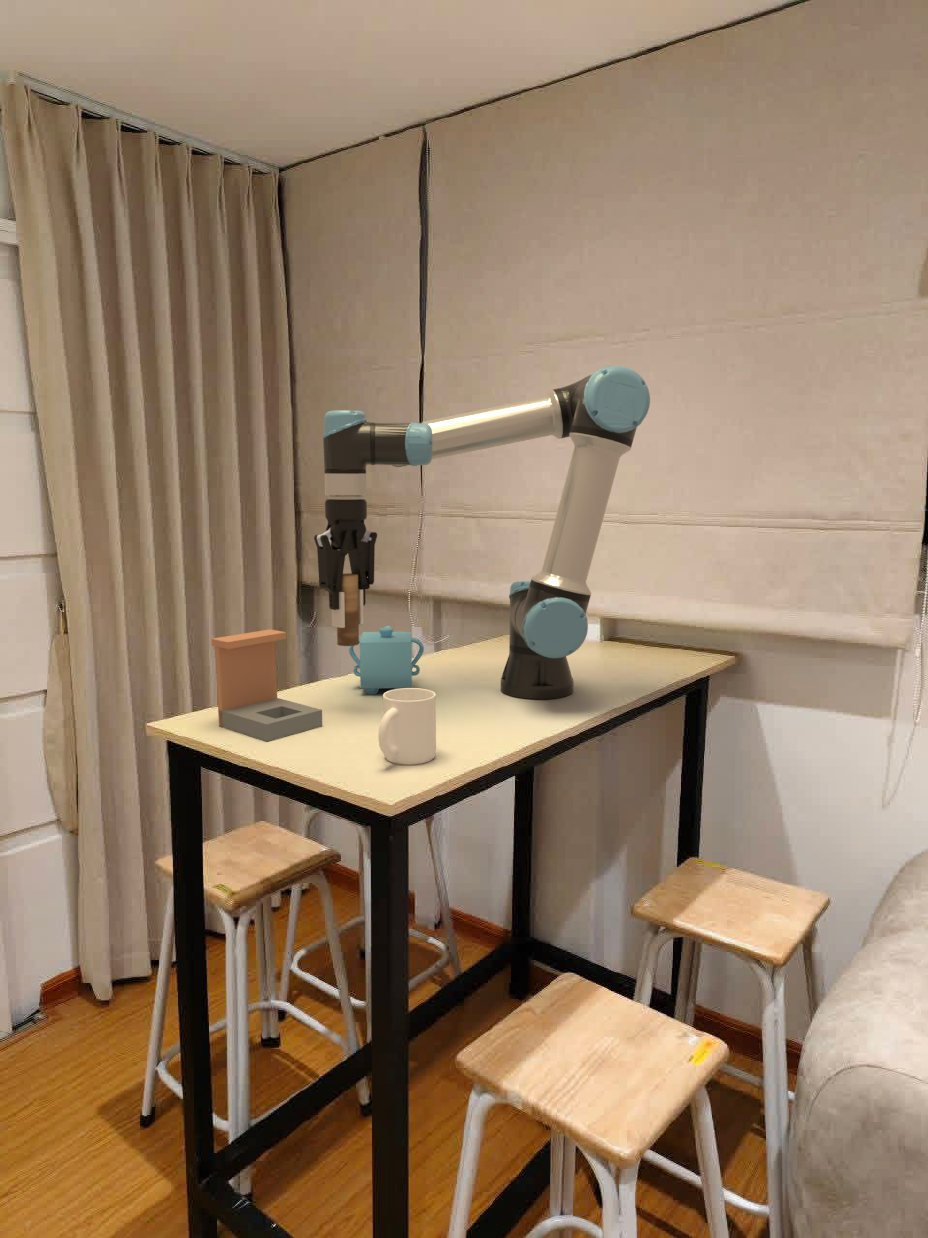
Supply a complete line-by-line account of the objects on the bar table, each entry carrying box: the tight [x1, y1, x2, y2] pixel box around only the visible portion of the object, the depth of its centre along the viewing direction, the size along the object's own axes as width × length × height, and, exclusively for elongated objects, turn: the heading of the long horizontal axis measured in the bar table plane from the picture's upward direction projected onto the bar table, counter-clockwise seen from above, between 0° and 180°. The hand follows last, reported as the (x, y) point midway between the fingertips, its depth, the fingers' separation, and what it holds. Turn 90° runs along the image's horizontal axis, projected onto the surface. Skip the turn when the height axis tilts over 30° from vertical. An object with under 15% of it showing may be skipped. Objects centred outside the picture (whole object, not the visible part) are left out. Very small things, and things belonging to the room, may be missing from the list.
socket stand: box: [211, 628, 323, 742], centre depth 151 cm, size 15×13×16 cm
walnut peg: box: [336, 572, 360, 647], centre depth 158 cm, size 4×4×13 cm
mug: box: [378, 687, 437, 766], centre depth 133 cm, size 12×8×10 cm
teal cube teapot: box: [348, 625, 425, 695], centre depth 181 cm, size 18×16×13 cm
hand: (348, 624), depth 159 cm, fingers closed on walnut peg, 4 cm apart
